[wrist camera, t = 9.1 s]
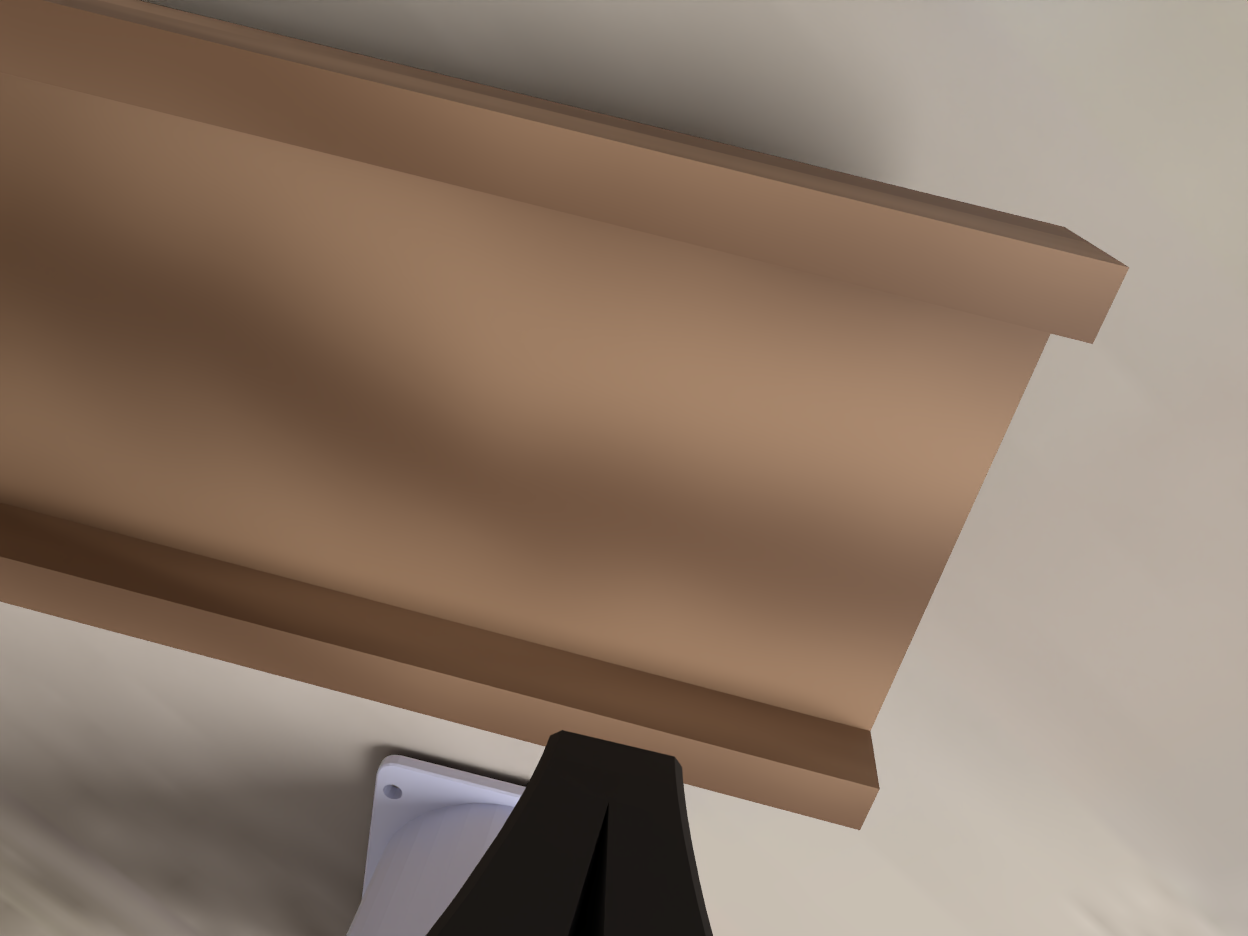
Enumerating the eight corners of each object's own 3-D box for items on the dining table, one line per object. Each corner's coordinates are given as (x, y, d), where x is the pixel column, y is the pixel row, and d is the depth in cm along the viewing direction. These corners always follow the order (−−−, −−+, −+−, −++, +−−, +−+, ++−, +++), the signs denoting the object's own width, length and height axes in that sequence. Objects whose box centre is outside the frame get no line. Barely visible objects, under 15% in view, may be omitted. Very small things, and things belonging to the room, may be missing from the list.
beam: (847, 725, 18) (860, 830, 15) (-479, 378, 18) (-655, 427, 16) (1064, 227, 13) (1128, 267, 11) (-697, -205, 14) (-987, -253, 12)
